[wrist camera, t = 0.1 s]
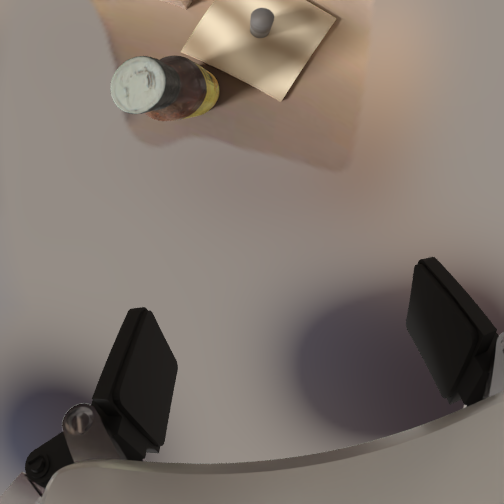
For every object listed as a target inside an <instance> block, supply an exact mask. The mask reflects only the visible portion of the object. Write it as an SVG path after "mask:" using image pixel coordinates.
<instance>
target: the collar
mask: <svg viewBox="0 0 504 504" xmlns="http://www.w3.org/2000/svg"><path fill="white" fill-rule="evenodd" d="M160 1H163V2H166V3H169V4H172V5H175V6H178V7H181V8H184V9H187V8H188V7H189V5H190V4H191V2H192V1H193V0H160Z"/></svg>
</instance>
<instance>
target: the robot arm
mask: <svg viewBox="0 0 504 504" xmlns="http://www.w3.org/2000/svg"><path fill="white" fill-rule="evenodd" d="M406 327H407V330H408V332H409V334H410V336H411V337H412V339H413V341H414V343H415V345H416V346H417V348H418V350H419V352H420V354H421V356H422V358H423V359H424V361H425V363H426V365H427V367H428V369H429V371H430V373H431V375H432V377H433V379H434V381H435V383H436V385H437V387H438V389H439V391H440V393H441V395H442V397H443V398H447V400H448V402H449V404H452V403H454V402H457V401H459V400H461V399H462V401H463V403H464V408H463V409H461V410H459V411H457V412H454V413H452V414H449V415H447V416H444V417H442V418H439V419H437V420H434V421H432V422H429V423H426V424H424V425H421V426H418V427H415V428H412V429H410V430H407V431H403V432H401V433H397V434H394V435H391V436H388V437H385V438H381V439H377V440H374V441H370V442H366V443H362V444H358V445H354V446H350V447H346V448H341V449H336V450H332V451H327V452H321V453H317V454H310V455H304V456H298V457H290V458H283V459H274V460H265V461H255V462H239V463H217V464H216V463H214V464H191V463H190V464H189V463H187V464H186V463H160V462H147V461H146V460H145V456H146V452H150V453H159V449H160V446H162V445H163V444H164V441H165V436H166V430H167V424H168V418H169V413H170V406H171V402H172V396H173V391H174V385H175V380H176V375H177V370H178V365H177V361H176V359H175V357H174V355H173V353H172V351H171V349H170V347H169V345H168V343H167V341H166V339H165V338H164V336H163V334H162V332H161V329H160V327H159V325H158V323H157V321H156V319H155V317H154V315H153V313H152V312H151V311H148V310H147V309H146V308H145V307H142V308H134V309H130V310H129V311H128V313H127V315H126V318H125V320H124V322H123V324H122V326H121V328H120V331H119V333H118V335H117V338H116V340H115V342H114V345H113V347H112V349H111V352H110V354H109V357H108V359H107V361H106V364H105V367H104V369H103V371H102V374H101V376H100V379H99V381H98V384H97V387H96V390H95V393H94V395H93V397H92V399H93V401H92V404H91V405H90V404H86V403H82V404H78V405H75V406H73V407H72V408H71V409H69V410H68V412H67V413H66V414H65V416H64V418H63V421H62V429H63V432H61V433H60V434H58V435H57V436H55V437H54V438H52V439H51V440H50V441H48V442H46V443H45V444H43V445H41V446H40V447H39V448H37V449H35V450H34V451H33V452H31V453H30V455H29V456H28V458H27V460H26V464H25V470H26V473H24V472H21V473H20V474H19V475H18V477H17V478H16V479H15V480H14V481H13V482H12V484H11V485H10V486H9V487H8V488H7V489H6V491H5V492H4V493H3V494H2V495H1V496H0V504H504V332H503V333H502V334H500V336H498V334H497V333H496V331H497V329H496V328H495V327H494V326H493V324H492V323H491V321H490V320H489V319H488V318H487V316H486V315H485V314H484V313H483V311H482V310H481V309H480V308H479V306H478V305H477V304H476V303H475V302H474V300H473V299H472V298H471V297H470V296H469V294H468V293H467V292H466V291H465V290H464V289H463V288H462V286H461V285H460V284H459V283H458V282H457V281H456V280H455V279H454V278H453V276H452V275H451V274H450V273H449V272H448V271H447V270H446V269H445V268H444V267H443V265H442V264H441V263H440V262H439V261H438V260H437V259H436V258H435V257H431V258H426V259H421V260H419V262H418V265H415V267H414V274H413V281H412V289H411V295H410V302H409V308H408V314H407V319H406Z"/></svg>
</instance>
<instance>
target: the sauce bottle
mask: <svg viewBox="0 0 504 504" xmlns="http://www.w3.org/2000/svg"><path fill="white" fill-rule="evenodd" d="M110 88H111V96H112V98H113V102H114V103H115V104H116V106H117V107H118V108H119V109H121V110H122V111H124V112H127V113H131V114H142V113H145V114H146V115H148V116H149V117H151V118H153V119H156V120H161V121H174V120H181V119H185V118H190V117H195V116H199V115H202V114H204V113H206V112H207V111H209V110H210V109H211V108H212V107H213V106H214V105H215V103H216V102H217V100H218V98H219V85H218V82H217V80H216V78H215V77H214V76H213V75H212V74H211V73H210V72H209V71H207V70H206V69H204V68H202V67H201V66H199V65H198V64H196V63H195V62H193V61H191V60H189V59H187V58H185V57H181V56H168V57H164V58H162V59H160V60H158V59H155V58H152V57H147V56H140V57H134V58H132V59H129V60H127V61H126V62H124V63H123V64H122V65H121V66H120V67H119V68H118V69H117V70H116V72H115V74H114V76H113V77H112V81H111V86H110Z"/></svg>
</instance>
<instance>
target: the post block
mask: <svg viewBox="0 0 504 504" xmlns="http://www.w3.org/2000/svg"><path fill="white" fill-rule="evenodd" d="M335 20H336V18H335V17H333V16H332V15H330V14H328V13H327V12H325V11H323V10H322V9H320V8H318V7H317V6H315V5H313V4H311V3H310V2H308V1H306V0H214V2H213V3H212V5H211V6H210V7H209V9H208V10H207V12H206V13H205V15H204V16H203V18H202V19H201V21H200V22H199V24H198V25H197V27H196V28H195V30H194V31H193V33H192V34H191V36H190V38H189V39H188V41H187V42H186V44H185V46H184V47H183V49H182V51H181V52H182V53H183V54H186V55H188V56H190V57H193V58H195V59H197V60H200V61H202V62H204V63H206V64H208V65H211V66H213V67H215V68H217V69H219V70H221V71H223V72H225V73H227V74H229V75H231V76H233V77H235V78H237V79H239V80H241V81H243V82H245V83H247V84H249V85H251V86H253V87H255V88H257V89H258V90H260V91H262V92H264V93H266V94H267V95H269V96H271V97H273V98H275V99H276V100H278V101H280V102H281V101H282V100H283V98H284V96H285V95H286V93H287V92H288V90H289V89H290V87H291V85H292V84H293V82H294V81H295V79H296V78H297V76H298V75H299V73H300V72H301V70H302V69H303V67H304V66H305V64H306V63H307V61H308V60H309V58H310V57H311V55H312V54H313V52H314V51H315V49H316V48H317V46H318V45H319V43H320V42H321V40H322V39H323V38H324V36H325V35H326V33H327V32H328V30H329V29H330V27H331V26H332V25H333V23H334V22H335Z"/></svg>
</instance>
